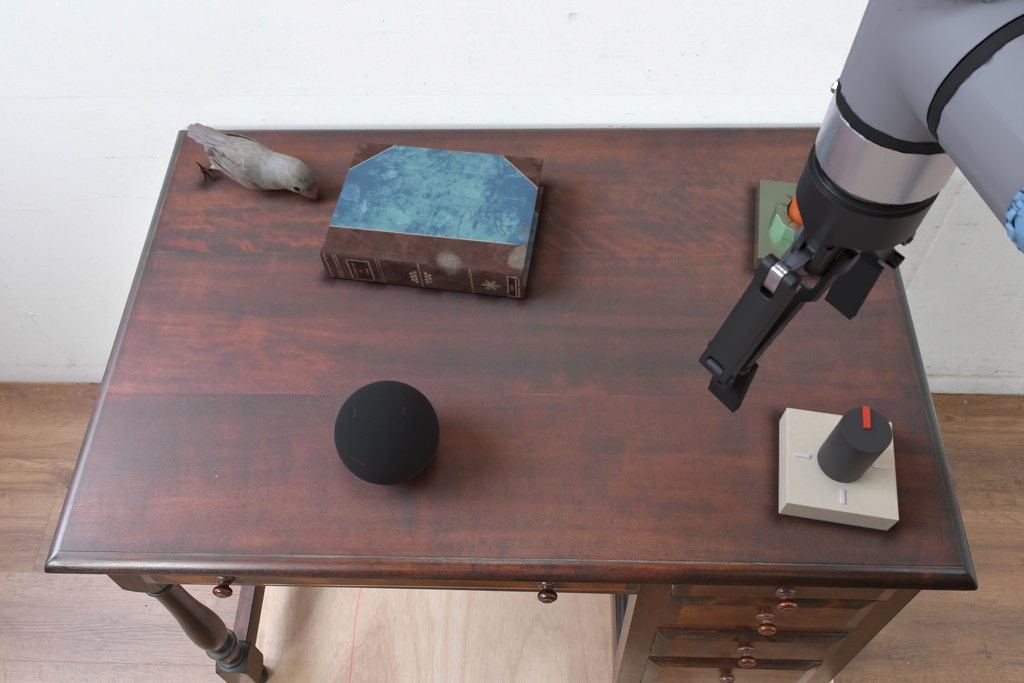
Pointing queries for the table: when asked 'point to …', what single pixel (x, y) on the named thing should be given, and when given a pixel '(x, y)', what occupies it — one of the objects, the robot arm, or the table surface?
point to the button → (795, 212)
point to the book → (436, 219)
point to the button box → (774, 220)
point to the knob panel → (819, 494)
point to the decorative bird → (252, 162)
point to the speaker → (386, 432)
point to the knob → (854, 444)
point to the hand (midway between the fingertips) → (783, 351)
